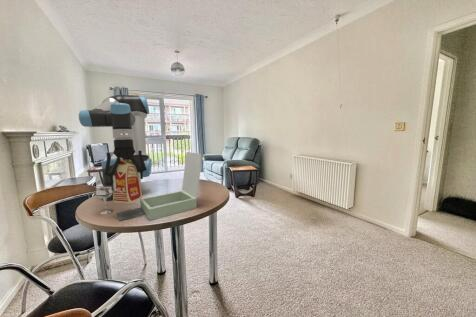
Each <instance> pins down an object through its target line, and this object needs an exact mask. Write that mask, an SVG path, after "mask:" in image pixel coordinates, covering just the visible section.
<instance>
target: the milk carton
mask: <svg viewBox="0 0 476 317" xmlns="http://www.w3.org/2000/svg"><path fill="white" fill-rule="evenodd" d="M115 180H116V191H113V200H112V203H115V204H126V205H131V204H132V203H135V202H137V201H138V200H139V201H140V199H143V195H142V194H143V193H142V186H141V187H139V178H138V173H137V169H136V166H135V165H134V164H133V163H132V162H131V160H127V159H125V160H123V158H120V162H119V164H118V166H117V168H116V173H115Z"/></svg>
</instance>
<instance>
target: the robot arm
mask: <svg viewBox="0 0 476 317" xmlns="http://www.w3.org/2000/svg"><path fill="white" fill-rule="evenodd" d="M149 114H150V109H149V103H148V100H147V97H146V95H139V94H137V95H136V94H135V95H134V94H133V95H132V94H114V95H111V96H109V97H106V98H104V99H103V100H102V102H101V103H100V104H99V105H97V106H95V107H94V108H92V109H85V110H83V109H81V110H79V113H78V121H79V123H80V125H81V126H83V127H85V128H87V127H89V128H99V127H102V128H106V127H107V128H108V127H109V128H110V127H111V128H112V138H113V139H114V140H113V147H114V148H113V149H114V150H113V151H110V152H109V151H108V152H107V151H106V160H103V161H102V162H101V174H102V181H103V182H102V183H103V187H106V186H111V187H112V190H113V191H116V180H115V173H116V168H117V166H118V164H119V162H120V158H123V160H125V159H127V160H131V162H132V163H133V164H134V165H135V166H136V169H137V173H138V178H139V187H141V188H142V180H143V178H147V177H150V175H151V173H152V164H153V162H152V158H151V157H150V156H149V155H148V153H147V142H146V122H145V119H146V118H147V117H148V115H149ZM114 155H115V158H113V156H114ZM101 200H102V201H104V200H103V199H101ZM106 201H113V193H112V195H111V196H110V197H109V198H107V199H106Z"/></svg>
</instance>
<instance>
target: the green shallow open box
mask: <svg viewBox="0 0 476 317" xmlns="http://www.w3.org/2000/svg"><path fill="white" fill-rule="evenodd" d="M139 204H140V209H141V210H142V211H143V213H144V216H145V217H147V218H148V220H149V221H152V220H153V221H154V220H157V219H160V218H165V217H169V216H172V215H176V214H179V213H184V212H187V211H191V210H196V209H197V198H195V197H193V196H191V195H190V194H188V193H186V192H184V191H182V190H180V191H179V190H178V191H173V192H169V193H163V194H159V195H153V196H148V197H142V198H141V199H139Z"/></svg>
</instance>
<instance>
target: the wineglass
mask: <svg viewBox="0 0 476 317" xmlns="http://www.w3.org/2000/svg"><path fill="white" fill-rule="evenodd" d="M95 191H96V192H95V195H96V197H97V198H99V199H101V200H102V199H103V200H102V201H104V207H105V210H103V211H101V212H100V215H107V214H110V213H113V210H111V209H110V210H109V209H108V208H107V200H106V199H107V198H109V197H110V196H111V195H112V193H113V190H112V187H111V186H106V187H104V186H100V187H97V188H95Z"/></svg>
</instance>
